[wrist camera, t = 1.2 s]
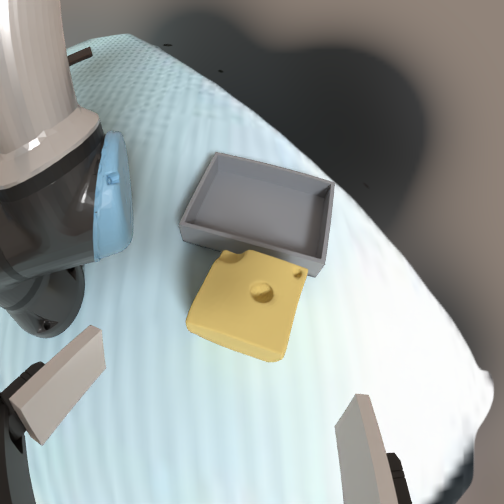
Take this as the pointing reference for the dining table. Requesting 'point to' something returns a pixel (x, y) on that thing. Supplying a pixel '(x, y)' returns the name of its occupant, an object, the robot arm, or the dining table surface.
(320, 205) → the bin
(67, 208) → the robot arm
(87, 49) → the hardcover book
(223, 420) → the dining table surface
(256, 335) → the cheese
